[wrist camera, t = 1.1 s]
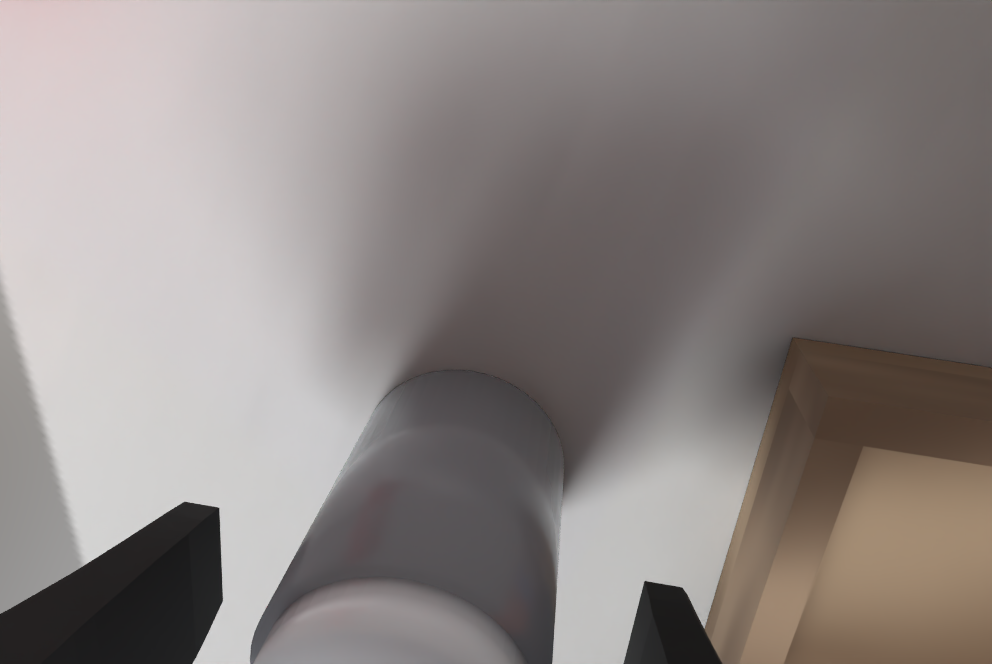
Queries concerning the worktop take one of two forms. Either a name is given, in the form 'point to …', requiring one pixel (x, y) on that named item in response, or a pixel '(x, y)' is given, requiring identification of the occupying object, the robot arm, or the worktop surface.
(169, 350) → the worktop surface
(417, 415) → the cylinder
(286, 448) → the worktop surface
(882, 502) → the walnut tray
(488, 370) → the worktop surface
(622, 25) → the worktop surface
